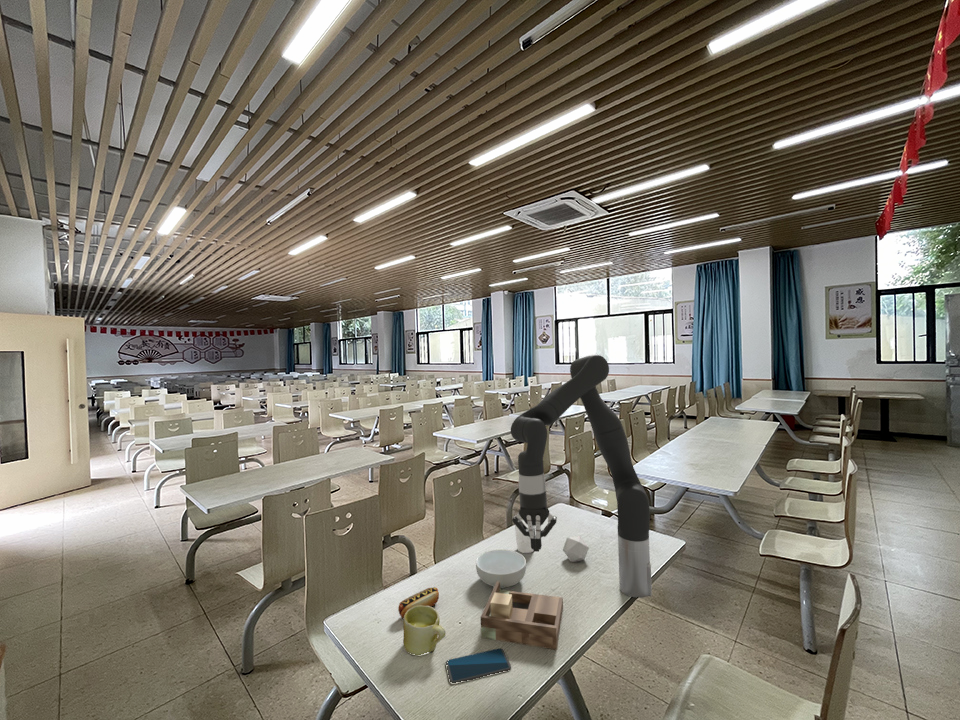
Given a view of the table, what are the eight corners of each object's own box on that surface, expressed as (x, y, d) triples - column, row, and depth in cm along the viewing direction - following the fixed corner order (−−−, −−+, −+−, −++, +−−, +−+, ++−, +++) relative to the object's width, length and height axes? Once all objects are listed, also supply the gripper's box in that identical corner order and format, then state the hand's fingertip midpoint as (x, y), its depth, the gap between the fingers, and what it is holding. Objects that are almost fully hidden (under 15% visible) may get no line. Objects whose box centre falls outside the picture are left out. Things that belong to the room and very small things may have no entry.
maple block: (512, 612, 118) (512, 594, 118) (509, 623, 113) (508, 604, 113) (495, 609, 119) (494, 592, 119) (491, 620, 114) (490, 602, 114)
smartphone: (512, 671, 100) (512, 667, 100) (450, 686, 96) (450, 682, 96) (502, 650, 108) (502, 646, 108) (444, 663, 104) (444, 660, 104)
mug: (388, 640, 110) (401, 602, 110) (419, 633, 117) (431, 598, 117) (413, 674, 101) (427, 633, 101) (445, 665, 108) (457, 627, 108)
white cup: (520, 555, 156) (519, 529, 156) (512, 546, 164) (512, 521, 164) (539, 552, 158) (538, 525, 158) (531, 543, 166) (530, 518, 166)
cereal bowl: (520, 599, 129) (519, 577, 128) (469, 591, 134) (468, 570, 134) (531, 571, 145) (530, 551, 145) (485, 565, 150) (485, 546, 150)
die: (586, 568, 146) (595, 541, 150) (564, 557, 146) (573, 530, 150) (577, 566, 154) (586, 540, 158) (556, 555, 154) (565, 530, 158)
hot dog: (443, 605, 127) (442, 589, 127) (405, 625, 118) (404, 608, 118) (433, 599, 131) (432, 583, 131) (396, 618, 122) (395, 601, 122)
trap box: (563, 607, 124) (562, 589, 124) (556, 649, 107) (556, 628, 106) (497, 598, 129) (496, 581, 129) (481, 637, 112) (480, 617, 112)
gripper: (557, 484, 119) (561, 545, 120) (511, 484, 123) (515, 543, 123) (555, 493, 112) (559, 558, 112) (506, 493, 115) (511, 555, 115)
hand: (536, 550), depth 118 cm, fingers closed
